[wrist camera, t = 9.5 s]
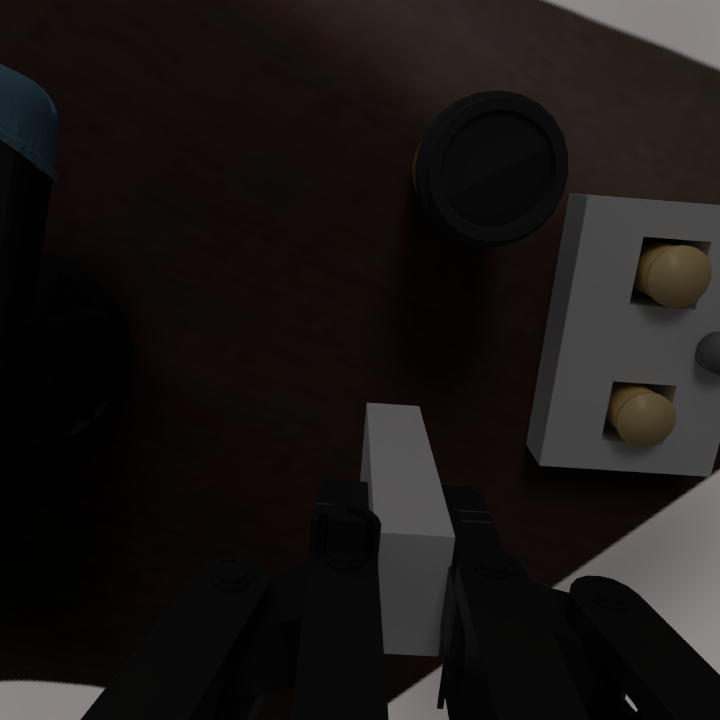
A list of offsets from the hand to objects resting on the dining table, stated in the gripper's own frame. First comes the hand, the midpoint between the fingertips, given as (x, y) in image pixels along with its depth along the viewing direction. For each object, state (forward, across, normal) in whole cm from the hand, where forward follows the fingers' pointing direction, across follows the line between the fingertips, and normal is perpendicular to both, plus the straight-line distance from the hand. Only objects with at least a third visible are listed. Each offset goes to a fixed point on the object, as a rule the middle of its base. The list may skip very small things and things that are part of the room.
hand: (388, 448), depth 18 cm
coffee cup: (+33, +6, +8) cm, 34 cm away
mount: (+32, +22, -4) cm, 39 cm away
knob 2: (+31, +22, -9) cm, 39 cm away
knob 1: (+31, +22, +2) cm, 38 cm away
